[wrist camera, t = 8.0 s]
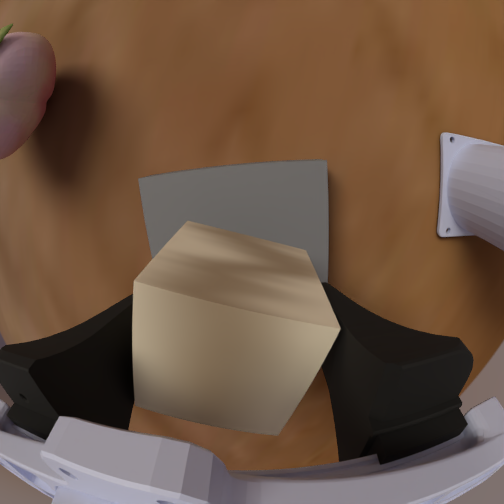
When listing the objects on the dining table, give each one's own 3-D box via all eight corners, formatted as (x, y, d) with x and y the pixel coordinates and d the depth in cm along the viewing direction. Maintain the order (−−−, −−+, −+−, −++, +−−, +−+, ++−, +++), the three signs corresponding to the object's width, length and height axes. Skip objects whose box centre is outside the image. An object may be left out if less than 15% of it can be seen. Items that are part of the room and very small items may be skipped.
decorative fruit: (39, 42, 12) (-39, 23, 3) (99, 51, 13) (8, 13, 4) (3, 138, 15) (-78, 154, 6) (54, 165, 16) (-46, 191, 7)
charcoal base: (317, 159, 17) (326, 160, 15) (318, 306, 21) (325, 325, 18) (153, 174, 17) (138, 178, 15) (179, 314, 21) (171, 333, 19)
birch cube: (305, 250, 13) (340, 328, 7) (272, 342, 14) (277, 435, 9) (187, 220, 12) (134, 280, 6) (172, 319, 14) (135, 405, 8)
